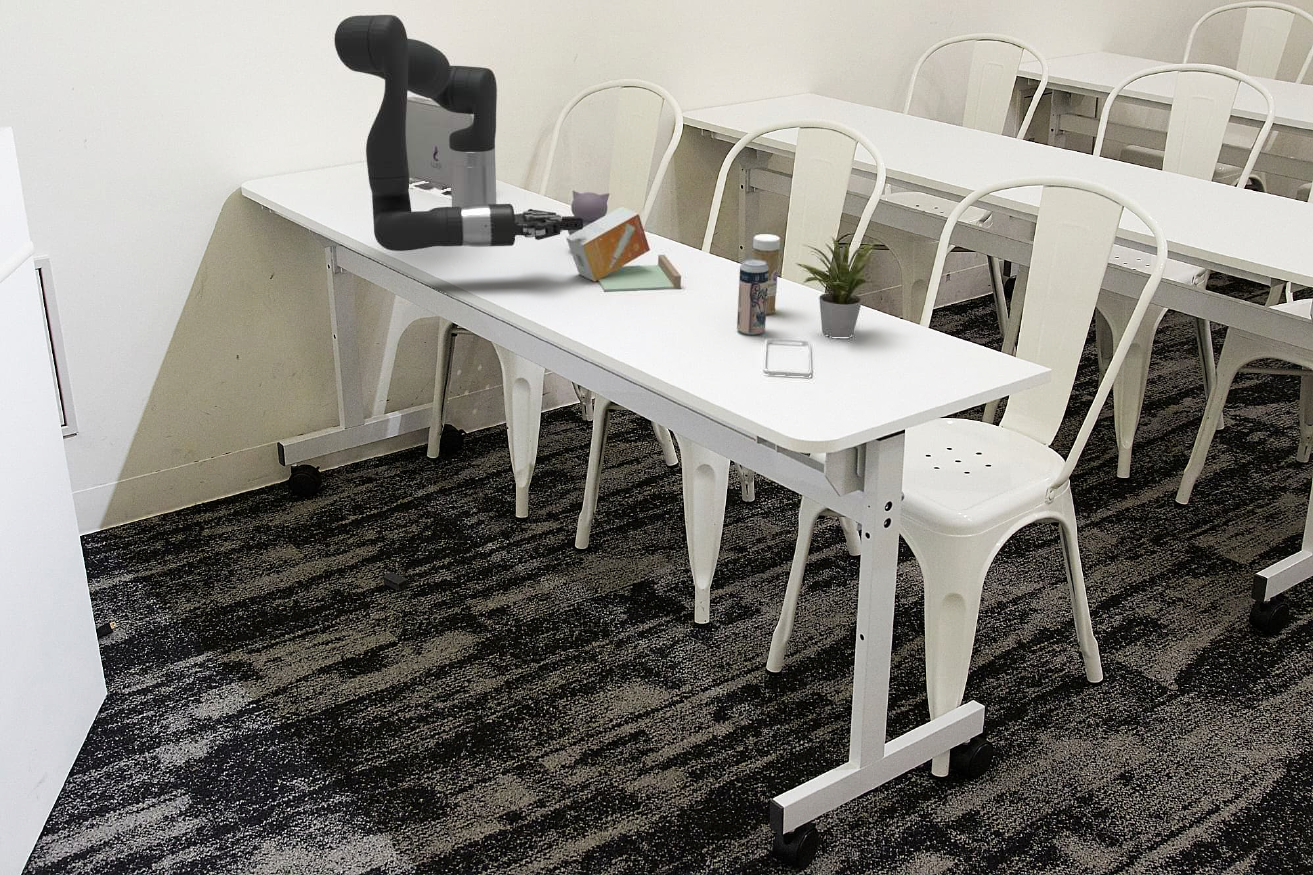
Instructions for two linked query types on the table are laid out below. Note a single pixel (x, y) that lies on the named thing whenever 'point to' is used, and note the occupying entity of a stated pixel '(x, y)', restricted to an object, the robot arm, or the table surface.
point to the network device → (431, 140)
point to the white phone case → (787, 373)
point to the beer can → (752, 296)
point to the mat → (643, 277)
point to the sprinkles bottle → (768, 264)
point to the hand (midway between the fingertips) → (582, 222)
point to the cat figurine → (588, 207)
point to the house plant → (840, 290)
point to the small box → (608, 243)
